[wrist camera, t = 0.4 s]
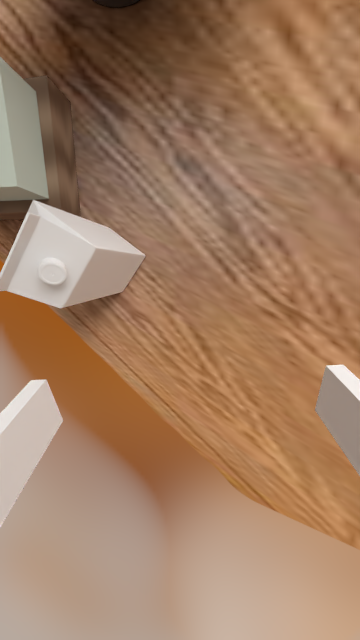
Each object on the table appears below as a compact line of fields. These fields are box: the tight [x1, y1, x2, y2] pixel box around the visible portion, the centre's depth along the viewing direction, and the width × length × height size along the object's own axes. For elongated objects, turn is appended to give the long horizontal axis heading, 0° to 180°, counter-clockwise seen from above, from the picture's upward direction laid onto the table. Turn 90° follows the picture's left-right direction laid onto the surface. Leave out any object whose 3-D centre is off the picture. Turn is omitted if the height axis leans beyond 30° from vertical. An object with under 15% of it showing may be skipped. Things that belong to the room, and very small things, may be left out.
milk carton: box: [0, 200, 145, 308], centre depth 26 cm, size 7×7×19 cm
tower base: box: [0, 76, 81, 220], centre depth 32 cm, size 15×15×5 cm
